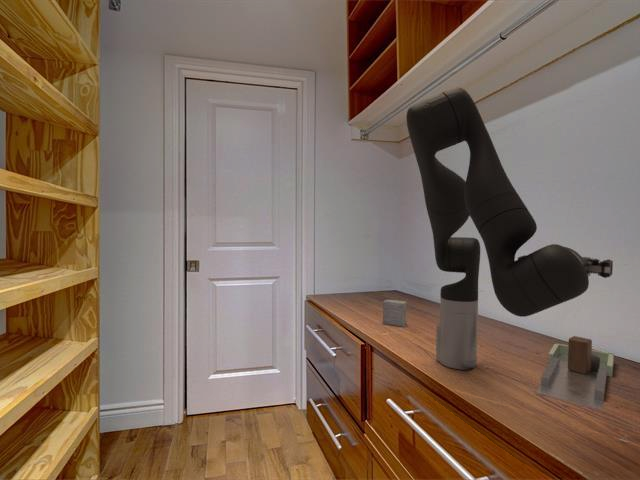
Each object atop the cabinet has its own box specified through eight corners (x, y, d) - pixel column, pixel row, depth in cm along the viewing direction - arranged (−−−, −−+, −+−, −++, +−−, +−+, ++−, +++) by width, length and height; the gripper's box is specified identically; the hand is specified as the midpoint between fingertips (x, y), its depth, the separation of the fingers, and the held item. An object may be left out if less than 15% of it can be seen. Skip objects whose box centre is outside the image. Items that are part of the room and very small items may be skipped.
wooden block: (567, 370, 88) (568, 338, 88) (572, 366, 91) (573, 335, 91) (586, 375, 85) (587, 342, 85) (591, 371, 88) (592, 339, 88)
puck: (597, 372, 87) (597, 360, 87) (577, 367, 90) (578, 356, 90) (601, 368, 90) (601, 356, 90) (581, 363, 93) (582, 352, 93)
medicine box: (406, 324, 132) (407, 301, 132) (402, 327, 128) (403, 303, 128) (386, 321, 136) (386, 299, 136) (382, 324, 132) (382, 301, 132)
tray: (612, 376, 84) (612, 366, 84) (548, 363, 93) (548, 353, 93) (613, 363, 94) (613, 353, 94) (554, 351, 102) (555, 343, 102)
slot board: (602, 412, 69) (602, 400, 68) (536, 394, 76) (536, 384, 76) (608, 364, 94) (608, 355, 94) (559, 354, 101) (559, 346, 101)
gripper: (612, 249, 54) (613, 245, 66) (508, 245, 63) (526, 242, 75) (610, 298, 54) (612, 285, 66) (507, 287, 63) (525, 277, 76)
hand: (566, 262), depth 71 cm, fingers open, 8 cm apart
